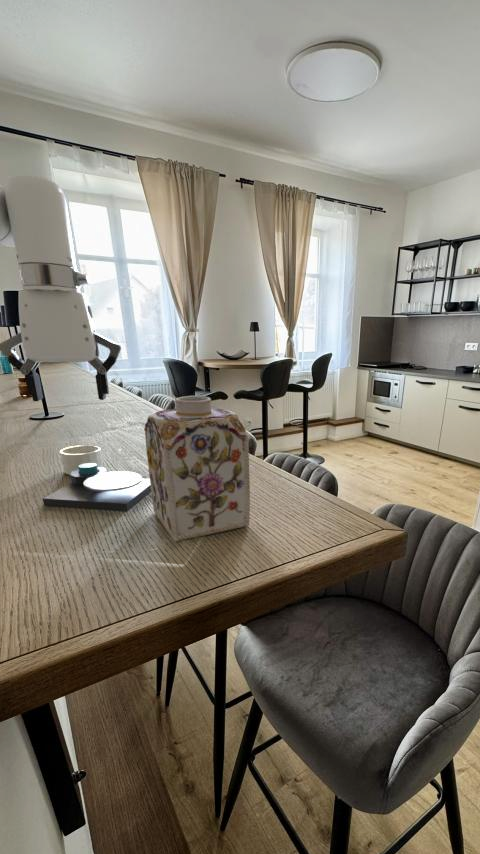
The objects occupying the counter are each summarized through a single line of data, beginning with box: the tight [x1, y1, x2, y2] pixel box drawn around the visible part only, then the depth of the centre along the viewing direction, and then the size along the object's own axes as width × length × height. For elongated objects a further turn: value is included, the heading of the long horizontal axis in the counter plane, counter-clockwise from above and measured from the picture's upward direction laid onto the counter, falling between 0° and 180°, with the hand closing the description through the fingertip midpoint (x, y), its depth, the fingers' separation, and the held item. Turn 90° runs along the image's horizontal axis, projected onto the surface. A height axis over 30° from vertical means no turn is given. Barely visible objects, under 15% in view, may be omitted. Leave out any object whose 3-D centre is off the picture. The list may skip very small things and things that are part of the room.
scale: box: [42, 467, 151, 513], centre depth 70 cm, size 14×12×3 cm
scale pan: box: [83, 471, 143, 491], centre depth 68 cm, size 9×9×1 cm
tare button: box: [78, 463, 98, 475], centre depth 73 cm, size 3×3×2 cm
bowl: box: [59, 444, 104, 476], centre depth 82 cm, size 7×7×4 cm
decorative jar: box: [143, 395, 251, 543], centre depth 59 cm, size 12×12×18 cm
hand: (71, 399), depth 67 cm, fingers open, 9 cm apart
